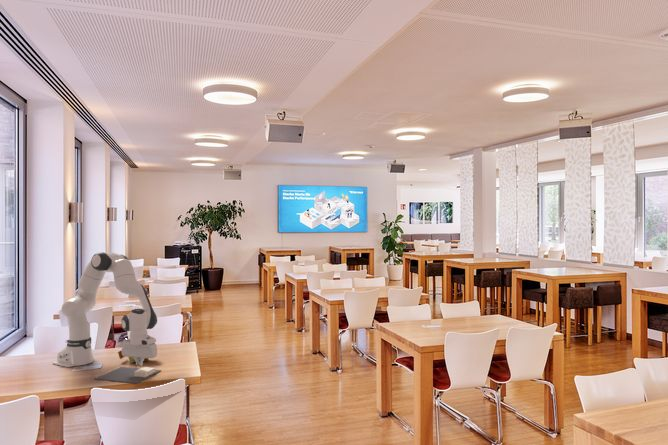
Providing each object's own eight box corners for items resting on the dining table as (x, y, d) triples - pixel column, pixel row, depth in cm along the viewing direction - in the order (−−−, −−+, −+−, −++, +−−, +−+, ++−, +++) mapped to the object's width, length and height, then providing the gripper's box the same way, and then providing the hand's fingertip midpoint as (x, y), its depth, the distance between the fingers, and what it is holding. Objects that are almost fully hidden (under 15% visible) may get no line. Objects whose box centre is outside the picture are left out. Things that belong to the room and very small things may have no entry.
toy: (121, 369, 283) (153, 360, 281) (115, 349, 283) (146, 340, 281) (129, 364, 293) (160, 355, 291) (123, 345, 293) (154, 336, 291)
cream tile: (134, 371, 258) (145, 372, 256) (143, 367, 266) (155, 368, 264) (134, 376, 258) (145, 377, 256) (144, 371, 266) (155, 372, 264)
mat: (94, 379, 256) (94, 378, 256) (121, 367, 275) (121, 366, 275) (136, 383, 249) (136, 382, 249) (160, 371, 268) (160, 370, 268)
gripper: (118, 340, 262) (119, 365, 262) (151, 342, 256) (151, 368, 256) (126, 337, 268) (127, 362, 268) (158, 339, 262) (159, 364, 262)
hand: (139, 365), depth 262 cm, fingers closed
